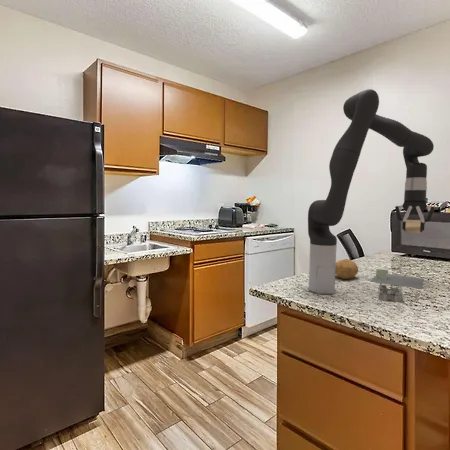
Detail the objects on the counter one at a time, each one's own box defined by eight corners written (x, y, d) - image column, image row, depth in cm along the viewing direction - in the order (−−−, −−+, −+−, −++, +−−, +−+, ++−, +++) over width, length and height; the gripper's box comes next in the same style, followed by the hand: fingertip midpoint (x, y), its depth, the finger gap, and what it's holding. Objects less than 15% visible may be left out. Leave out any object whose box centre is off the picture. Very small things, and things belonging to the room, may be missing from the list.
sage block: (386, 279, 129) (386, 270, 129) (376, 278, 131) (376, 268, 131) (387, 277, 132) (388, 268, 132) (377, 276, 135) (378, 267, 134)
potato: (328, 280, 129) (329, 261, 128) (337, 274, 140) (338, 257, 140) (352, 284, 123) (353, 264, 123) (360, 277, 135) (361, 259, 134)
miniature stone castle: (378, 292, 112) (379, 282, 112) (401, 295, 109) (402, 284, 108) (377, 300, 103) (377, 288, 103) (402, 303, 100) (402, 291, 99)
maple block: (419, 233, 121) (420, 220, 121) (405, 232, 124) (405, 220, 124) (420, 232, 125) (421, 220, 125) (406, 231, 128) (407, 219, 128)
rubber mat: (421, 290, 115) (421, 288, 115) (369, 282, 126) (369, 281, 126) (424, 279, 132) (424, 278, 132) (378, 273, 142) (378, 272, 142)
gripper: (394, 189, 124) (391, 231, 126) (436, 188, 116) (434, 233, 117) (396, 190, 131) (394, 229, 132) (437, 189, 122) (434, 232, 124)
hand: (413, 231), depth 125 cm, fingers closed on maple block, 5 cm apart
